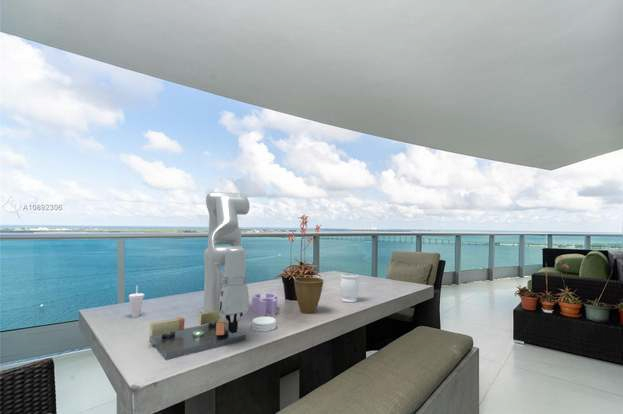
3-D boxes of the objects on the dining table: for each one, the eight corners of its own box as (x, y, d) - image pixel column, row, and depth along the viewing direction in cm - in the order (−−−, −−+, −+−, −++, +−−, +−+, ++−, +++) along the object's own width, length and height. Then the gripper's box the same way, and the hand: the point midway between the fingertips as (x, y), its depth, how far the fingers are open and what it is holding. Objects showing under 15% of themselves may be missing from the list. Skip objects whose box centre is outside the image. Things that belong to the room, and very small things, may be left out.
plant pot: (289, 314, 152) (290, 280, 153) (298, 306, 166) (298, 276, 167) (319, 316, 148) (320, 282, 149) (325, 308, 162) (326, 277, 163)
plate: (149, 341, 113) (149, 332, 113) (222, 326, 131) (222, 318, 132) (166, 359, 98) (166, 349, 98) (245, 339, 116) (246, 331, 116)
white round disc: (259, 323, 137) (260, 315, 137) (280, 326, 134) (280, 317, 134) (247, 330, 128) (247, 321, 128) (268, 333, 124) (269, 324, 125)
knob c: (219, 328, 121) (220, 314, 122) (231, 328, 122) (231, 314, 122) (213, 339, 110) (213, 323, 111) (225, 338, 111) (226, 323, 111)
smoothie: (126, 318, 139) (128, 286, 140) (127, 315, 144) (129, 284, 145) (143, 317, 142) (145, 285, 143) (143, 313, 147) (145, 283, 148)
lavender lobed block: (281, 315, 150) (282, 300, 150) (255, 317, 146) (256, 302, 146) (273, 305, 169) (274, 292, 169) (250, 306, 165) (250, 293, 165)
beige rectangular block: (201, 329, 120) (202, 315, 121) (197, 326, 124) (197, 312, 124) (228, 323, 128) (228, 310, 128) (223, 321, 131) (223, 308, 131)
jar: (339, 302, 177) (340, 275, 178) (341, 298, 187) (341, 273, 188) (358, 303, 175) (358, 276, 176) (358, 299, 186) (359, 273, 187)
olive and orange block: (152, 341, 107) (153, 325, 107) (148, 337, 110) (149, 322, 111) (184, 334, 115) (185, 319, 115) (180, 331, 118) (180, 316, 118)
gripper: (220, 284, 108) (218, 339, 107) (257, 280, 118) (255, 330, 117) (210, 282, 114) (208, 333, 112) (247, 278, 124) (245, 325, 122)
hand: (232, 332), depth 115 cm, fingers closed
